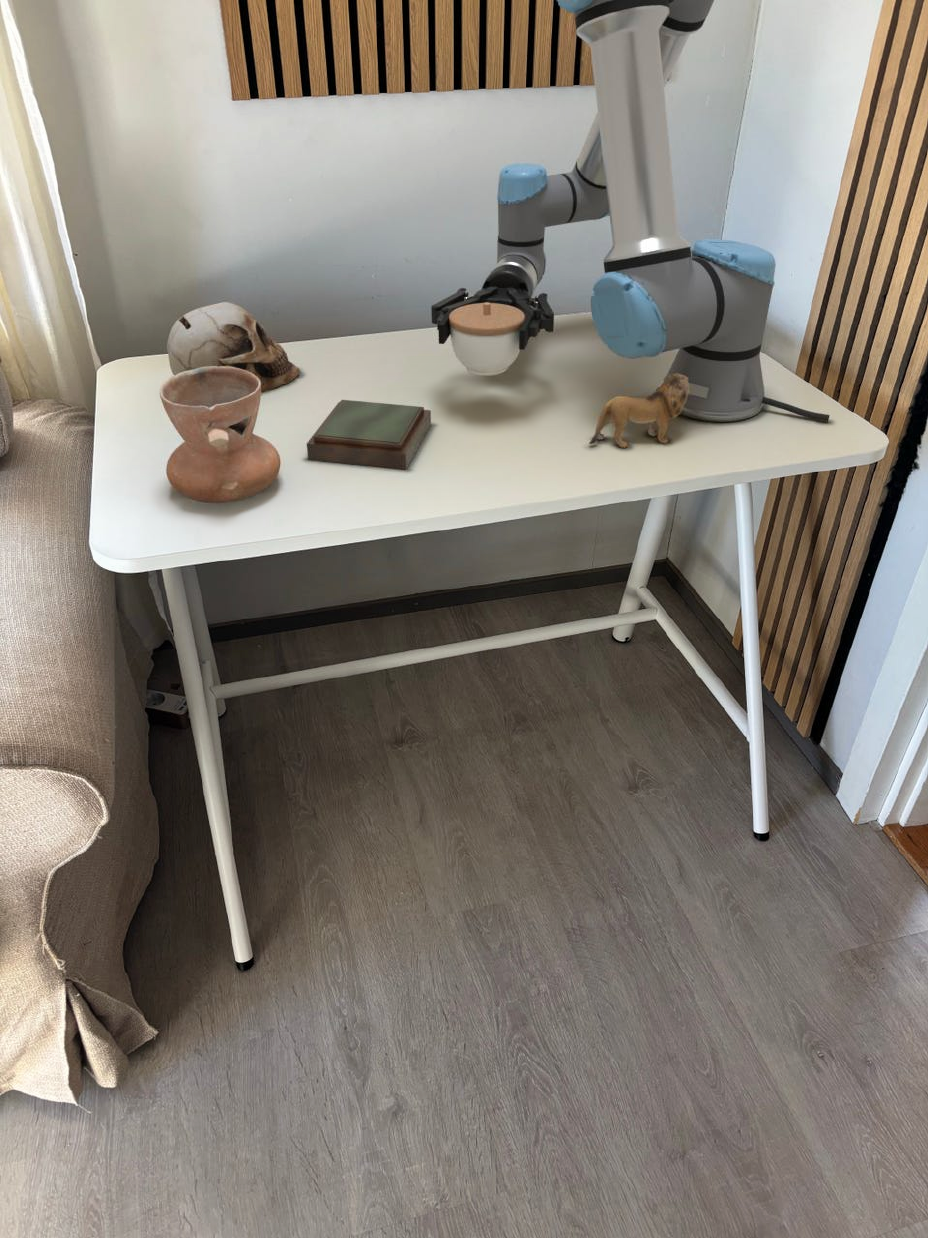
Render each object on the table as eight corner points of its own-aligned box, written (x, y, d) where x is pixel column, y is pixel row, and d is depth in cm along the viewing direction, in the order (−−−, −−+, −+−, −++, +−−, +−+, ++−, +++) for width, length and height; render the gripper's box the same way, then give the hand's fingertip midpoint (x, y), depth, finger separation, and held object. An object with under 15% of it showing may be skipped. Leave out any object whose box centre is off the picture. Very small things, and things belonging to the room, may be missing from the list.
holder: (431, 425, 141) (430, 404, 139) (406, 469, 130) (405, 447, 128) (340, 416, 144) (338, 395, 142) (308, 459, 133) (305, 437, 131)
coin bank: (308, 370, 157) (291, 290, 148) (243, 421, 146) (221, 338, 137) (233, 356, 163) (213, 279, 155) (165, 404, 152) (139, 324, 144)
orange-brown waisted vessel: (290, 511, 121) (276, 405, 113) (171, 526, 119) (149, 419, 110) (275, 448, 135) (262, 350, 127) (169, 460, 133) (149, 361, 124)
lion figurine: (672, 424, 141) (680, 365, 136) (691, 439, 137) (700, 379, 132) (581, 439, 137) (586, 379, 132) (597, 455, 133) (603, 394, 128)
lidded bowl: (443, 379, 137) (442, 314, 131) (456, 352, 145) (455, 289, 140) (518, 384, 135) (520, 318, 130) (527, 355, 144) (529, 292, 138)
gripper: (581, 316, 151) (562, 369, 134) (438, 307, 155) (401, 357, 138) (584, 267, 147) (565, 315, 129) (436, 259, 151) (399, 304, 133)
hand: (481, 337), depth 134 cm, fingers closed on lidded bowl, 11 cm apart
